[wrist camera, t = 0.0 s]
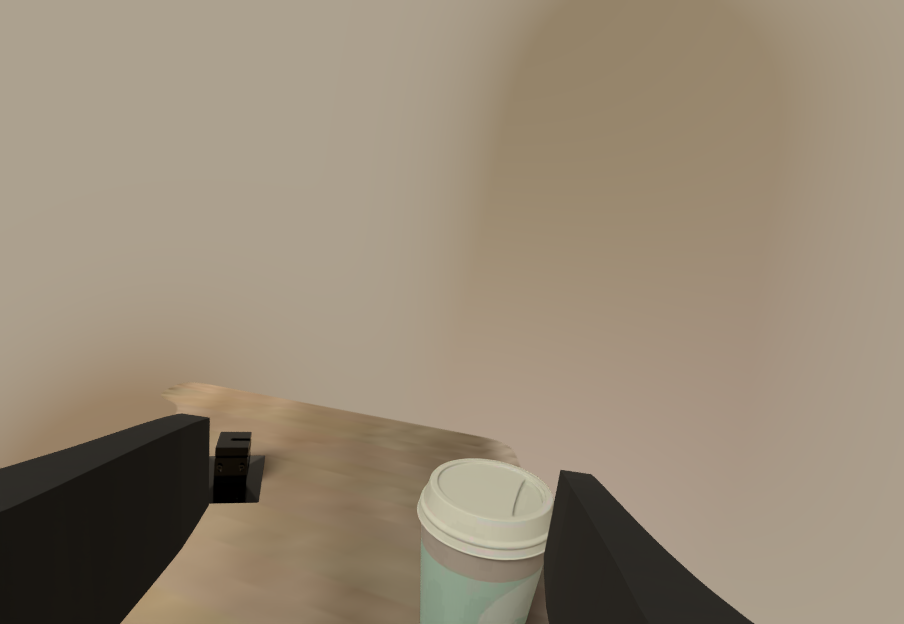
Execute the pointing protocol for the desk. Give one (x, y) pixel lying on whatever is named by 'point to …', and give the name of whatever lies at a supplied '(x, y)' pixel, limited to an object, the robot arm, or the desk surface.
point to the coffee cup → (481, 542)
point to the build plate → (235, 470)
